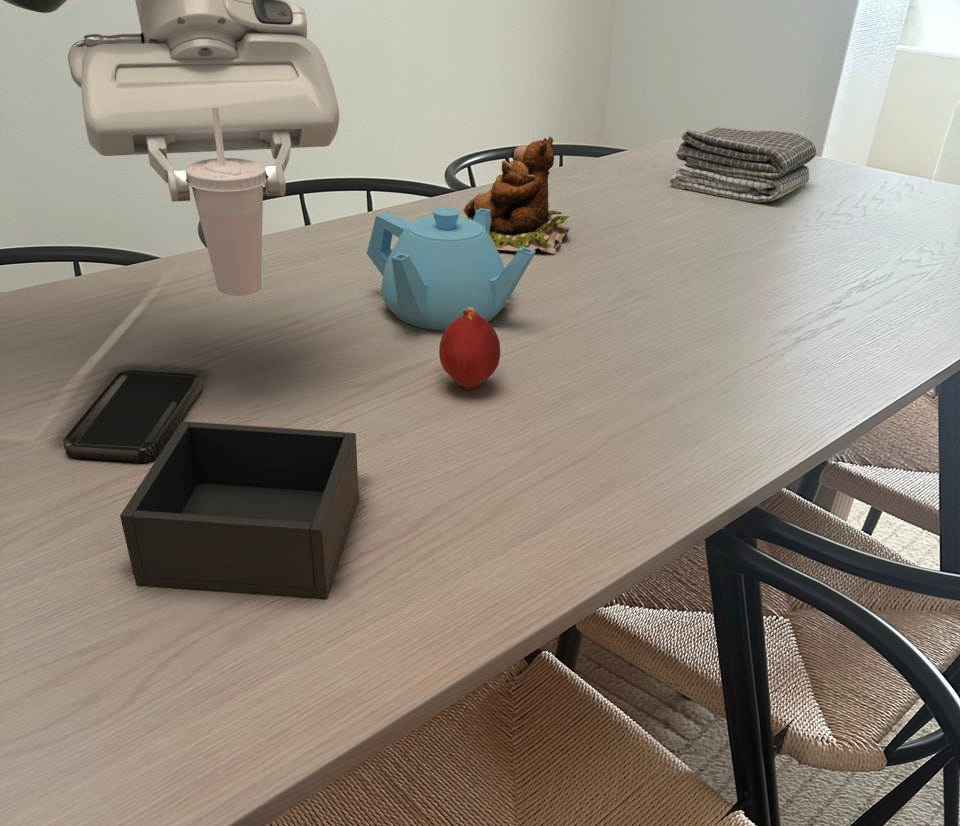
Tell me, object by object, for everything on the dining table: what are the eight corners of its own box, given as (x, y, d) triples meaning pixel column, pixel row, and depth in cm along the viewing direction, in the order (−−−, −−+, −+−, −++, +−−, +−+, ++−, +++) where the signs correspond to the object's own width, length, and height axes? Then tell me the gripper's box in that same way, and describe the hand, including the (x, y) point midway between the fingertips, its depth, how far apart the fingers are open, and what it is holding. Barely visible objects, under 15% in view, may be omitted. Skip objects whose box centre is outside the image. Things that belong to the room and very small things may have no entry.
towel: (778, 208, 145) (791, 151, 140) (663, 186, 152) (672, 130, 147) (810, 186, 155) (823, 131, 150) (701, 165, 162) (710, 112, 157)
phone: (58, 445, 82) (122, 368, 93) (61, 457, 82) (124, 379, 94) (151, 451, 81) (204, 373, 93) (154, 463, 82) (206, 384, 94)
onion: (451, 370, 98) (453, 291, 93) (506, 381, 97) (510, 300, 92) (430, 394, 94) (430, 312, 89) (487, 405, 93) (490, 323, 88)
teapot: (491, 281, 118) (495, 185, 111) (532, 330, 107) (540, 227, 100) (365, 291, 114) (361, 192, 107) (395, 342, 103) (393, 236, 96)
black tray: (135, 585, 69) (119, 515, 66) (192, 485, 80) (181, 420, 76) (327, 599, 69) (321, 529, 65) (359, 497, 80) (355, 432, 76)
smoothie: (253, 269, 89) (234, 96, 80) (290, 291, 85) (275, 112, 77) (188, 283, 86) (161, 104, 77) (224, 307, 82) (200, 121, 73)
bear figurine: (474, 214, 138) (478, 118, 130) (578, 229, 134) (588, 131, 126) (439, 244, 128) (440, 141, 120) (551, 261, 124) (559, 156, 116)
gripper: (57, 7, 75) (91, 180, 74) (322, 6, 81) (356, 167, 80) (69, 62, 81) (100, 223, 80) (314, 58, 87) (346, 208, 86)
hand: (230, 195), depth 80 cm, fingers closed on smoothie, 6 cm apart
